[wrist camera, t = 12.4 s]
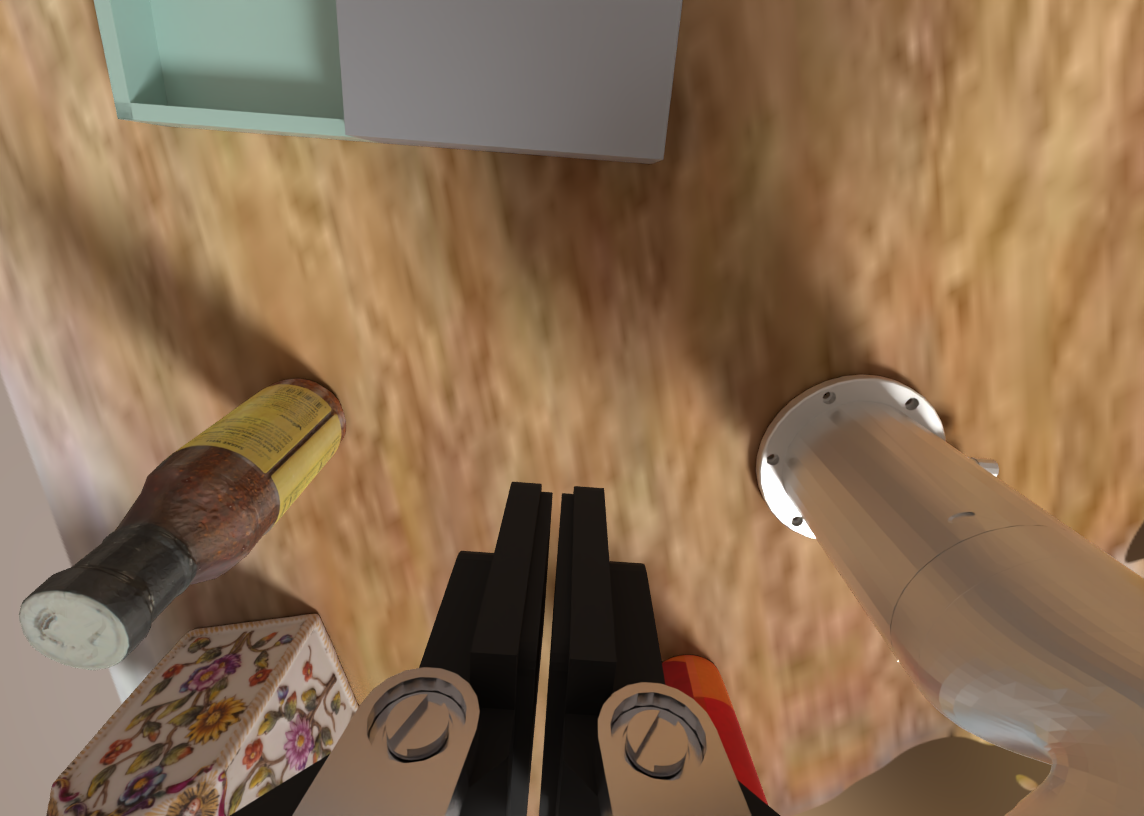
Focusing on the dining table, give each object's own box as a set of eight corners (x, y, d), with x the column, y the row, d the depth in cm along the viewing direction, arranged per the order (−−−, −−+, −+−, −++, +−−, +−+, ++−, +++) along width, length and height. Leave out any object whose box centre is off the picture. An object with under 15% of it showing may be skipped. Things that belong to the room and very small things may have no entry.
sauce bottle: (245, 391, 38) (-72, 579, 20) (323, 361, 37) (70, 529, 19) (294, 470, 40) (50, 706, 22) (369, 444, 40) (182, 667, 21)
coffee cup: (641, 719, 49) (664, 929, 35) (633, 648, 46) (656, 847, 32) (736, 712, 48) (799, 923, 34) (735, 639, 45) (803, 838, 32)
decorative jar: (187, 624, 46) (-40, 873, 29) (319, 606, 45) (164, 853, 28) (242, 726, 50) (73, 994, 33) (365, 712, 49) (253, 980, 33)
